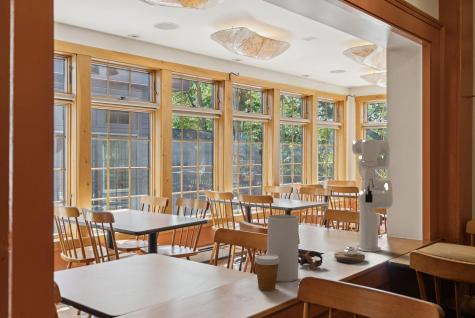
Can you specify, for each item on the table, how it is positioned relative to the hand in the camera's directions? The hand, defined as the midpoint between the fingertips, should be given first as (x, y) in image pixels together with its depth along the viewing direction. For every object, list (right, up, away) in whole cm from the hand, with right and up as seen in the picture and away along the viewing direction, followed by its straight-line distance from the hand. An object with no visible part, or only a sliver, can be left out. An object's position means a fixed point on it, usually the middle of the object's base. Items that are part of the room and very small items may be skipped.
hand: (368, 202), depth 225 cm
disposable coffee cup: (-53, -28, -52) cm, 79 cm away
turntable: (-11, -27, -6) cm, 30 cm away
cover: (-11, -24, -7) cm, 27 cm away
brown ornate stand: (-32, -27, -19) cm, 46 cm away
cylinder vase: (-46, -27, -38) cm, 65 cm away
